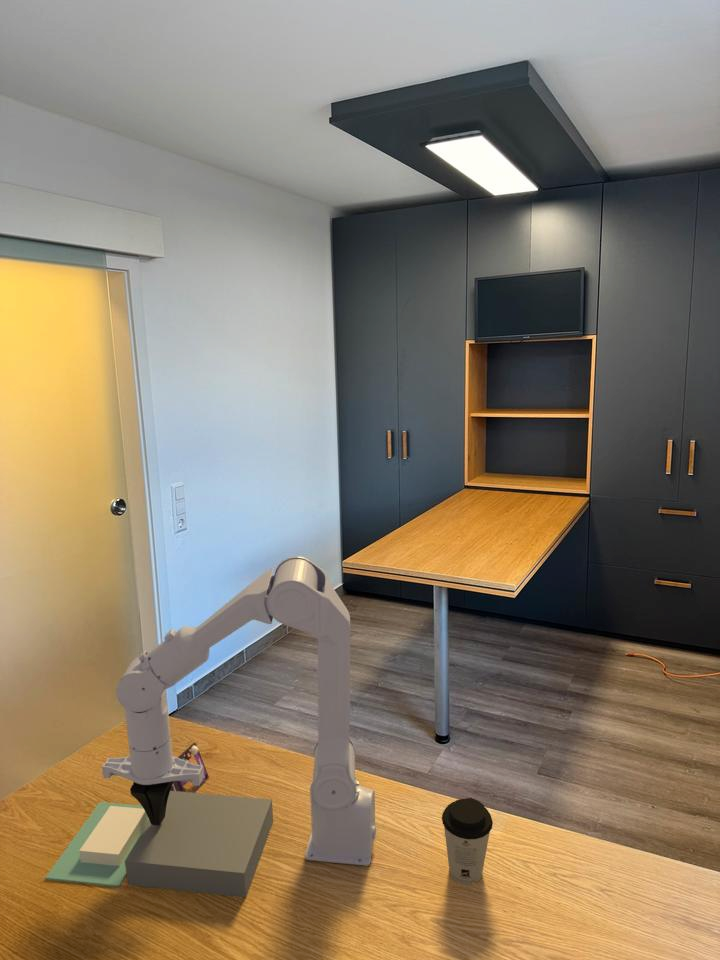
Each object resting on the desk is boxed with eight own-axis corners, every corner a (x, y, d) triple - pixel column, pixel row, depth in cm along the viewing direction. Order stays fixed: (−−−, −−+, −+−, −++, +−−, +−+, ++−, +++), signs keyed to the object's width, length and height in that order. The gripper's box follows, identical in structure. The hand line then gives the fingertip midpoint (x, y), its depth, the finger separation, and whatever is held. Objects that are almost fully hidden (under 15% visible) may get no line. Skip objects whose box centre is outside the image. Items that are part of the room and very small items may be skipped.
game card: (163, 774, 104) (198, 741, 112) (140, 776, 107) (176, 744, 115) (178, 813, 105) (212, 777, 113) (154, 813, 107) (189, 779, 115)
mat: (164, 809, 106) (164, 807, 106) (119, 887, 92) (118, 885, 92) (100, 803, 108) (100, 801, 107) (45, 879, 93) (45, 877, 93)
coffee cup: (472, 901, 89) (474, 838, 86) (430, 872, 93) (431, 811, 91) (500, 869, 93) (503, 809, 91) (459, 843, 98) (461, 786, 96)
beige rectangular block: (110, 805, 104) (111, 816, 104) (79, 850, 95) (80, 862, 96) (146, 809, 103) (148, 819, 103) (118, 854, 94) (120, 866, 95)
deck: (273, 821, 103) (271, 799, 102) (246, 897, 90) (244, 873, 89) (169, 811, 105) (167, 790, 104) (127, 884, 92) (124, 860, 91)
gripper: (208, 725, 97) (215, 804, 100) (115, 719, 99) (124, 796, 102) (190, 756, 90) (197, 840, 93) (90, 748, 92) (101, 831, 95)
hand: (158, 820), depth 97 cm, fingers closed
